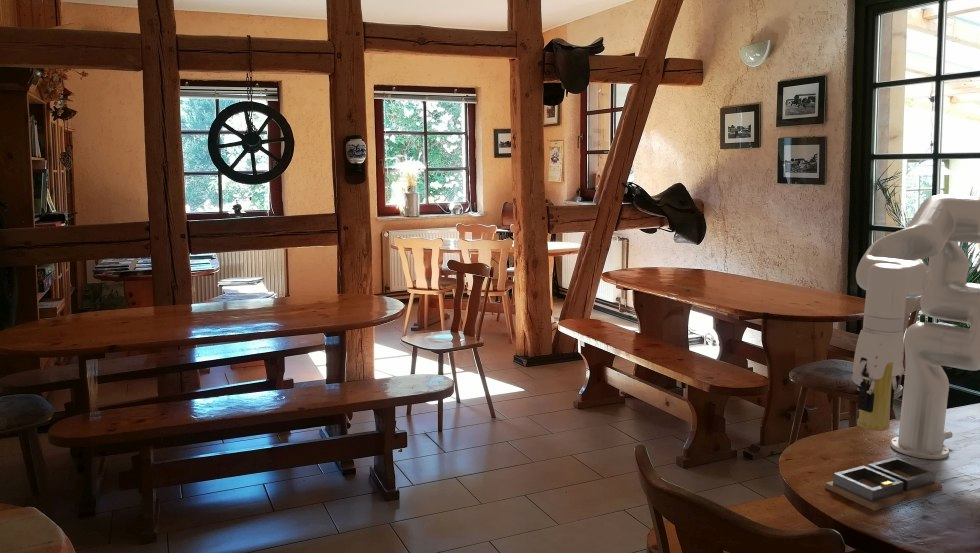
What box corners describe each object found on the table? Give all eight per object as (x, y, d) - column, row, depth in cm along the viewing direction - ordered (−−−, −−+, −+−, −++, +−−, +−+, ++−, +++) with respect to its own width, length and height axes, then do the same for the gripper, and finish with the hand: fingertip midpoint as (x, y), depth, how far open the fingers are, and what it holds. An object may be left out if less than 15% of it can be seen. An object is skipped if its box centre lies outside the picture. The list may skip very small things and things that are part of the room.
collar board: (892, 469, 185) (892, 464, 184) (941, 490, 174) (942, 485, 174) (825, 488, 174) (825, 482, 174) (874, 510, 164) (874, 505, 164)
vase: (892, 432, 166) (899, 365, 163) (860, 429, 167) (867, 363, 165) (884, 422, 172) (891, 357, 169) (854, 419, 173) (860, 355, 170)
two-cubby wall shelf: (895, 467, 183) (896, 454, 183) (935, 483, 175) (936, 469, 174) (832, 484, 174) (834, 470, 173) (871, 502, 165) (873, 488, 165)
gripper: (894, 316, 173) (886, 397, 176) (839, 324, 165) (831, 408, 168) (927, 323, 166) (918, 407, 169) (871, 332, 158) (863, 420, 161)
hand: (875, 407), depth 169 cm, fingers closed on vase, 5 cm apart
